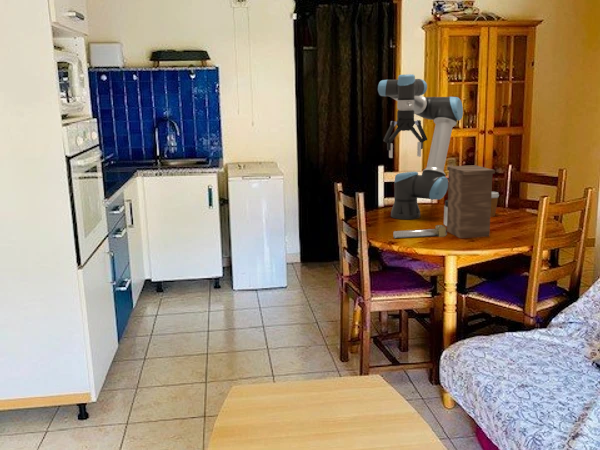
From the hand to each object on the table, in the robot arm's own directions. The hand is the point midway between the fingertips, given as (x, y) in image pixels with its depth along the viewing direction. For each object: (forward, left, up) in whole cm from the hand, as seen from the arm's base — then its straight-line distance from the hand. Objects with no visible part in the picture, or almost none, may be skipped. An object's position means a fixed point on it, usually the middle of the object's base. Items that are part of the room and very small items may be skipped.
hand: (404, 157), depth 273 cm
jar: (-5, +27, -35) cm, 44 cm away
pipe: (+12, +3, -35) cm, 37 cm away
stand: (+13, +26, -35) cm, 45 cm away
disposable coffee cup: (-21, +54, -35) cm, 68 cm away
